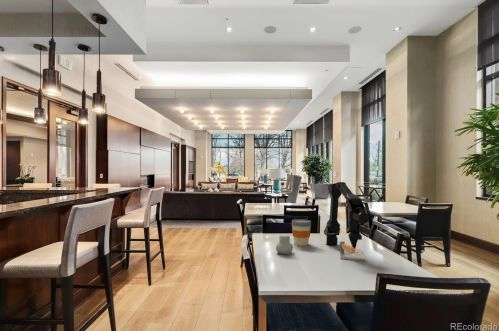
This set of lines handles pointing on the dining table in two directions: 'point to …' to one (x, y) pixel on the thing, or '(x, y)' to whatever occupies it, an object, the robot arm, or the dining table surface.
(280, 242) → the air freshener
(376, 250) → the dining table surface
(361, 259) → the chassis board
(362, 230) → the robot arm
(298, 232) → the reusable coffee cup
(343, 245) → the cable arm
